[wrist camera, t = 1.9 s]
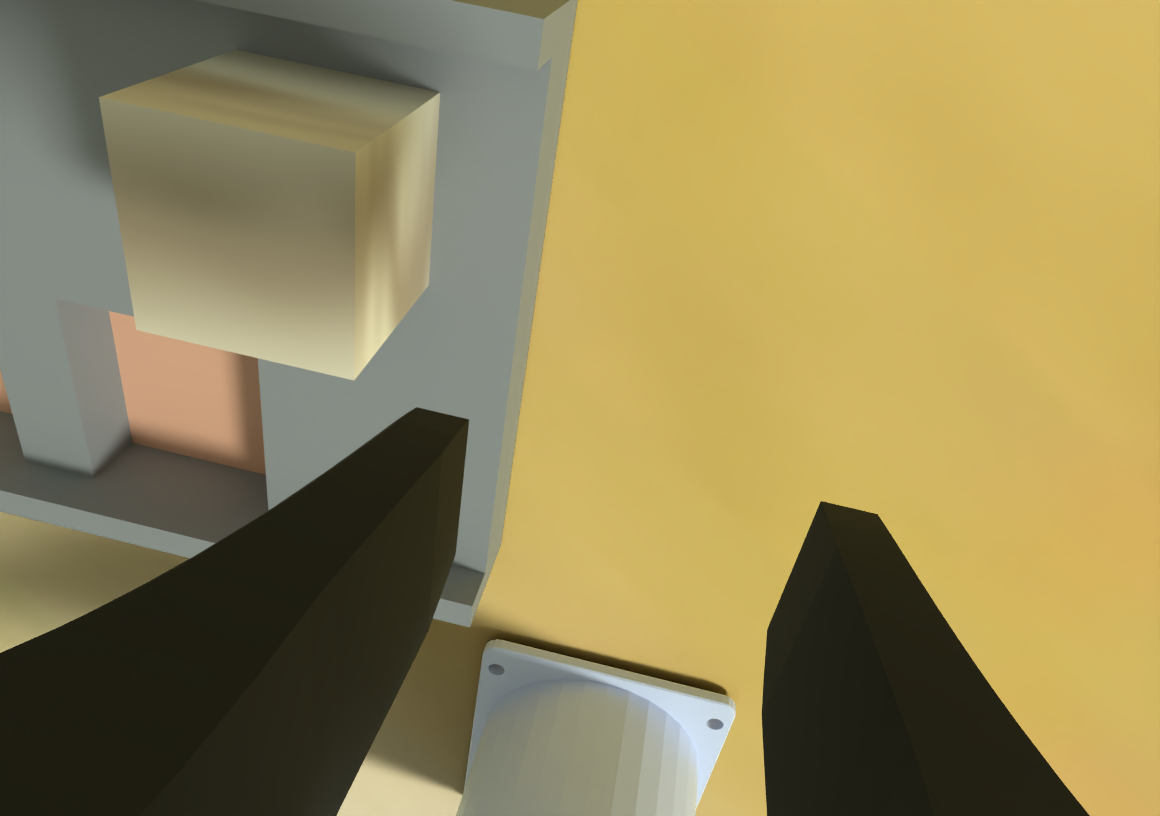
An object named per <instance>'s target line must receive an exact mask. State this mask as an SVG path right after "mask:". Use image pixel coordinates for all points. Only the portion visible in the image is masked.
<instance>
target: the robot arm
mask: <svg viewBox="0 0 1160 816" xmlns="http://www.w3.org/2000/svg"><path fill="white" fill-rule="evenodd" d="M468 428H469V419H465V418H461V417H457V416H452V415H448V414H444V413H439V412H435V411H431V410H427V409H422V408H418V407H416V408H414V409H413V410H411V411H409V412H408V413H406V414H405V415H403V416H402V417H400V418H399V419H398V420H396V421H395V422H393V423H392V424H391V425H389V426H388V427H387V428H385V429H384V430H383V431H381V432H380V433H379V434H377V435H376V436H374V437H373V438H372V439H370V440H369V441H368V442H366V443H365V444H364V445H362V446H361V447H359V448H358V449H357V450H355V451H354V452H353V453H351V454H350V455H348V456H347V457H346V458H344V459H343V460H341V461H340V462H339V463H337V464H336V465H334V466H333V467H332V468H330V469H329V470H327V471H326V472H325V473H323V474H322V475H320V476H319V477H317V478H316V479H314V480H313V481H311V482H310V483H308V484H307V485H305V486H304V487H303V488H301V489H300V490H298V491H297V492H295V493H294V494H292V495H291V496H289V497H288V498H286V499H285V500H283V501H282V502H280V503H279V504H277V505H276V506H275V507H273V508H271V509H270V510H268V511H267V512H265V513H264V514H262V515H261V516H259V517H258V518H256V519H254V520H253V521H251V522H249V523H248V524H246V525H244V526H243V527H241V528H239V529H238V530H236V531H235V532H233V533H231V534H230V535H228V536H226V537H225V538H223V539H221V540H220V541H218V542H217V543H215V544H213V545H212V546H210V547H208V548H207V549H205V550H203V551H202V552H200V553H199V554H197V555H195V556H194V557H192V558H190V559H188V560H187V561H185V562H183V563H181V564H180V565H178V566H176V567H174V568H173V569H171V570H169V571H167V572H165V573H164V574H162V575H160V576H158V577H156V578H155V579H153V580H151V581H149V582H147V583H145V584H144V585H142V586H140V587H138V588H136V589H134V590H132V591H131V592H129V593H127V594H125V595H123V596H121V597H119V598H117V599H115V600H113V601H111V602H109V603H107V604H105V605H103V606H101V607H99V608H97V609H95V610H93V611H91V612H89V613H87V614H86V615H84V616H81V617H79V618H77V619H75V620H73V621H71V622H69V623H67V624H65V625H63V626H61V627H58V628H56V629H54V630H52V631H49V632H47V633H45V634H43V635H40V636H38V637H36V638H33V639H31V640H29V641H27V642H24V643H22V644H20V645H17V646H15V647H13V648H11V649H8V650H6V651H4V652H1V653H0V816H336V815H337V813H338V811H339V809H340V807H341V805H342V803H343V801H344V799H345V797H346V795H347V793H348V791H349V789H350V787H351V785H352V783H353V781H354V779H355V777H356V775H357V773H358V771H359V769H360V767H361V765H362V763H363V761H364V759H365V757H366V755H367V753H368V751H369V749H370V747H371V745H372V743H373V741H374V739H375V737H376V735H377V733H378V731H379V729H380V727H381V725H382V723H383V721H384V719H385V717H386V715H387V713H388V711H389V709H390V707H391V705H392V703H393V701H394V699H395V697H396V695H397V693H398V691H399V689H400V687H401V685H402V683H403V681H404V679H405V677H406V675H407V673H408V671H409V669H410V667H411V665H412V663H413V661H414V659H415V657H416V655H417V653H418V651H419V649H420V647H421V644H422V642H423V640H424V638H425V636H426V634H427V632H428V630H429V627H430V624H431V622H432V619H433V616H434V613H435V611H436V608H437V605H438V603H439V600H440V597H441V594H442V592H443V589H444V586H445V583H446V580H447V577H448V575H449V572H450V569H451V566H452V563H453V560H454V558H455V555H456V547H457V537H458V527H459V517H460V507H461V497H462V487H463V478H464V468H465V458H466V448H467V438H468ZM497 664H498V665H497ZM734 718H735V703H734V701H733V700H732V699H731V698H730V697H728V696H726V695H723V694H719V693H715V692H711V691H707V690H703V689H699V688H695V687H691V686H687V685H683V684H679V683H675V682H671V681H666V680H662V679H658V678H654V677H650V676H646V675H642V674H638V673H634V672H630V671H626V670H622V669H618V668H614V667H610V666H606V665H602V664H598V663H594V662H590V661H586V660H582V659H578V658H574V657H570V656H566V655H562V654H557V653H553V652H549V651H545V650H541V649H537V648H533V647H529V646H525V645H521V644H517V643H513V642H509V641H505V640H499V639H496V640H491V641H489V642H488V643H487V644H486V646H485V649H484V652H483V656H482V663H481V670H480V678H479V685H478V692H477V699H476V707H475V714H474V721H473V728H472V736H471V743H470V750H469V757H468V765H467V772H466V779H465V786H464V792H463V796H462V799H461V802H460V805H459V808H458V812H457V815H456V816H696V808H697V806H698V803H699V801H700V799H701V796H702V794H703V791H704V789H705V787H706V784H707V782H708V780H709V777H710V775H711V773H712V770H713V768H714V765H715V763H716V761H717V758H718V756H719V754H720V751H721V749H722V746H723V744H724V742H725V739H726V737H727V735H728V732H729V730H730V727H731V725H732V723H733V720H734ZM762 728H763V748H764V766H765V785H766V802H767V816H1090V815H1089V814H1088V813H1087V812H1086V811H1085V809H1084V808H1083V807H1082V806H1081V804H1080V803H1079V802H1078V801H1077V800H1076V798H1075V797H1074V796H1073V795H1072V793H1071V792H1070V791H1069V790H1068V788H1067V787H1066V786H1065V785H1064V783H1063V782H1062V781H1061V780H1060V778H1059V777H1058V776H1057V774H1056V773H1055V772H1054V770H1053V769H1052V768H1051V766H1050V765H1049V764H1048V762H1047V761H1046V760H1045V759H1044V757H1043V756H1042V755H1041V753H1040V752H1039V751H1038V749H1037V748H1036V747H1035V745H1034V744H1033V743H1032V742H1031V740H1030V739H1029V738H1028V736H1027V735H1026V734H1025V732H1024V731H1023V730H1022V728H1021V727H1020V726H1019V725H1018V723H1017V722H1016V721H1015V719H1014V718H1013V716H1012V715H1011V714H1010V712H1009V711H1008V709H1007V708H1006V707H1005V705H1004V704H1003V703H1002V701H1001V700H1000V698H999V697H998V696H997V694H996V693H995V691H994V690H993V689H992V687H991V686H990V684H989V683H988V682H987V680H986V679H985V677H984V676H983V674H982V673H981V672H980V670H979V669H978V667H977V666H976V664H975V663H974V661H973V660H972V659H971V657H970V656H969V654H968V653H967V651H966V650H965V648H964V647H963V645H962V644H961V642H960V641H959V639H958V638H957V636H956V635H955V633H954V632H953V630H952V629H951V627H950V626H949V624H948V623H947V621H946V620H945V618H944V617H943V615H942V614H941V612H940V611H939V609H938V608H937V606H936V605H935V603H934V601H933V600H932V598H931V597H930V595H929V594H928V592H927V591H926V589H925V587H924V586H923V584H922V583H921V581H920V580H919V578H918V577H917V575H916V573H915V572H914V570H913V569H912V567H911V566H910V564H909V562H908V561H907V559H906V558H905V556H904V555H903V553H902V551H901V550H900V548H899V547H898V545H897V543H896V542H895V540H894V539H893V537H892V536H891V534H890V533H889V531H888V529H887V528H886V526H885V525H884V523H883V522H882V520H881V519H880V517H879V516H878V514H874V513H870V512H865V511H861V510H857V509H852V508H848V507H844V506H839V505H835V504H831V503H827V502H822V501H821V502H820V505H819V507H818V509H817V512H816V514H815V517H814V519H813V521H812V524H811V526H810V529H809V531H808V533H807V536H806V538H805V541H804V543H803V545H802V548H801V550H800V553H799V555H798V557H797V560H796V562H795V565H794V567H793V569H792V572H791V574H790V577H789V579H788V581H787V584H786V586H785V589H784V591H783V593H782V596H781V598H780V600H779V603H778V605H777V608H776V610H775V612H774V615H773V617H772V620H771V622H770V624H769V627H768V629H767V643H766V656H765V670H764V686H763V704H762Z"/></svg>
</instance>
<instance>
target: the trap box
mask: <svg viewBox="0 0 1160 816" xmlns="http://www.w3.org/2000/svg"><path fill="white" fill-rule="evenodd" d="M576 7H577V0H0V512H4V513H8V514H12V515H17V516H21V517H25V518H29V519H33V520H37V521H41V522H45V523H49V524H53V525H57V526H61V527H65V528H69V529H73V530H77V531H81V532H85V533H89V534H93V535H97V536H101V537H105V538H109V539H114V540H118V541H122V542H126V543H130V544H134V545H138V546H142V547H146V548H150V549H154V550H158V551H162V552H166V553H170V554H174V555H178V556H182V557H186V558H192V557H194V556H195V555H197V554H199V553H200V552H202V551H203V550H205V549H207V548H208V547H210V546H212V545H213V544H215V543H217V542H218V541H220V540H221V539H223V538H225V537H226V536H228V535H230V534H231V533H233V532H235V531H236V530H238V529H239V528H241V527H243V526H244V525H246V524H248V523H249V522H251V521H253V520H254V519H256V518H258V517H259V516H261V515H262V514H264V513H265V512H267V511H268V510H270V509H271V508H273V507H275V506H276V505H277V504H279V503H280V502H282V501H283V500H285V499H286V498H288V497H289V496H291V495H292V494H294V493H295V492H297V491H298V490H300V489H301V488H303V487H304V486H305V485H307V484H308V483H310V482H311V481H313V480H314V479H316V478H317V477H319V476H320V475H322V474H323V473H325V472H326V471H327V470H329V469H330V468H332V467H333V466H334V465H336V464H337V463H339V462H340V461H341V460H343V459H344V458H346V457H347V456H348V455H350V454H351V453H353V452H354V451H355V450H357V449H358V448H359V447H361V446H362V445H364V444H365V443H366V442H368V441H369V440H370V439H372V438H373V437H374V436H376V435H377V434H379V433H380V432H381V431H383V430H384V429H385V428H387V427H388V426H389V425H391V424H392V423H393V422H395V421H396V420H398V419H399V418H400V417H402V416H403V415H405V414H406V413H408V412H409V411H411V410H413V409H414V408H416V407H418V408H422V409H427V410H431V411H435V412H439V413H444V414H448V415H452V416H457V417H461V418H465V419H469V428H468V438H467V448H466V458H465V468H464V478H463V487H462V497H461V507H460V517H459V527H458V537H457V547H456V555H455V558H454V560H453V563H452V566H451V569H450V572H449V575H448V577H447V580H446V583H445V586H444V589H443V592H442V594H441V597H440V600H439V603H438V605H437V608H436V611H435V613H434V616H433V619H437V620H441V621H445V622H449V623H453V624H457V625H461V626H465V627H469V628H470V626H471V623H472V621H473V618H474V615H475V613H476V610H477V607H478V605H479V602H480V599H481V597H482V594H483V591H484V588H485V586H486V583H487V580H488V578H489V575H490V572H491V570H492V567H493V564H494V562H495V559H496V556H497V554H498V551H499V548H500V546H501V540H502V533H503V526H504V519H505V512H506V505H507V498H508V490H509V483H510V476H511V469H512V462H513V455H514V448H515V441H516V434H517V427H518V419H519V412H520V405H521V398H522V391H523V384H524V377H525V370H526V363H527V355H528V348H529V341H530V334H531V327H532V320H533V313H534V306H535V299H536V292H537V284H538V277H539V270H540V263H541V256H542V249H543V242H544V235H545V228H546V220H547V213H548V206H549V199H550V192H551V185H552V178H553V171H554V164H555V156H556V149H557V142H558V135H559V128H560V121H561V114H562V107H563V100H564V93H565V85H566V78H567V71H568V64H569V57H570V50H571V43H572V36H573V29H574V21H575V14H576ZM233 50H241V51H245V52H250V53H255V54H260V55H264V56H269V57H274V58H279V59H283V60H288V61H293V62H298V63H303V64H307V65H312V66H317V67H322V68H326V69H331V70H336V71H341V72H345V73H350V74H355V75H360V76H365V77H369V78H374V79H379V80H384V81H388V82H393V83H398V84H403V85H407V86H412V87H417V88H422V89H427V90H431V91H436V92H440V104H439V121H438V137H437V154H436V171H435V187H434V204H433V220H432V237H431V254H430V270H429V286H428V287H427V288H426V289H425V291H424V292H423V293H422V294H421V296H420V297H419V298H418V300H417V301H416V302H415V303H414V305H413V306H412V307H411V309H410V310H409V311H408V312H407V314H406V315H405V316H404V318H403V319H402V320H401V321H400V323H399V324H398V325H397V326H396V328H395V329H394V330H393V332H392V333H391V334H390V335H389V337H388V338H387V339H386V341H385V342H384V343H383V344H382V346H381V347H380V348H379V350H378V351H377V352H376V353H375V355H374V356H373V357H372V358H371V360H370V361H369V362H368V364H367V365H366V366H365V367H364V369H363V370H362V371H361V373H360V374H359V375H358V376H357V378H356V379H355V380H350V379H346V378H341V377H337V376H333V375H328V374H324V373H320V372H315V371H311V370H307V369H302V368H298V367H294V366H290V365H285V364H281V363H277V362H272V361H268V360H264V359H259V358H255V357H251V356H246V355H242V354H238V353H233V352H229V351H225V350H220V349H216V348H212V347H207V346H203V345H199V344H195V343H190V342H186V341H182V340H177V339H173V338H169V337H164V336H160V335H156V334H151V333H147V332H143V331H138V330H136V324H135V318H134V312H133V306H132V300H131V294H130V287H129V281H128V275H127V269H126V263H125V256H124V250H123V244H122V238H121V232H120V225H119V219H118V213H117V207H116V201H115V194H114V188H113V182H112V176H111V170H110V164H109V157H108V151H107V145H106V139H105V133H104V126H103V120H102V114H101V108H100V102H99V97H101V96H104V95H107V94H110V93H113V92H115V91H118V90H121V89H124V88H127V87H130V86H133V85H136V84H138V83H141V82H144V81H147V80H150V79H153V78H156V77H159V76H161V75H164V74H167V73H170V72H173V71H176V70H179V69H182V68H184V67H187V66H190V65H193V64H196V63H199V62H202V61H205V60H207V59H210V58H213V57H216V56H219V55H222V54H225V53H228V52H230V51H233Z"/></svg>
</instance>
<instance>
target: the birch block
mask: <svg viewBox="0 0 1160 816" xmlns="http://www.w3.org/2000/svg"><path fill="white" fill-rule="evenodd" d="M99 102H100V108H101V114H102V120H103V126H104V133H105V139H106V145H107V151H108V157H109V164H110V170H111V176H112V182H113V188H114V194H115V201H116V207H117V213H118V219H119V225H120V232H121V238H122V244H123V250H124V256H125V263H126V269H127V275H128V281H129V287H130V294H131V300H132V306H133V312H134V318H135V324H136V330H138V331H143V332H147V333H151V334H156V335H160V336H164V337H169V338H173V339H177V340H182V341H186V342H190V343H195V344H199V345H203V346H207V347H212V348H216V349H220V350H225V351H229V352H233V353H238V354H242V355H246V356H251V357H255V358H259V359H264V360H268V361H272V362H277V363H281V364H285V365H290V366H294V367H298V368H302V369H307V370H311V371H315V372H320V373H324V374H328V375H333V376H337V377H341V378H346V379H350V380H355V379H356V378H357V376H358V375H359V374H360V373H361V371H362V370H363V369H364V367H365V366H366V365H367V364H368V362H369V361H370V360H371V358H372V357H373V356H374V355H375V353H376V352H377V351H378V350H379V348H380V347H381V346H382V344H383V343H384V342H385V341H386V339H387V338H388V337H389V335H390V334H391V333H392V332H393V330H394V329H395V328H396V326H397V325H398V324H399V323H400V321H401V320H402V319H403V318H404V316H405V315H406V314H407V312H408V311H409V310H410V309H411V307H412V306H413V305H414V303H415V302H416V301H417V300H418V298H419V297H420V296H421V294H422V293H423V292H424V291H425V289H426V288H427V287H428V286H429V270H430V254H431V237H432V220H433V204H434V187H435V171H436V154H437V137H438V121H439V104H440V92H436V91H431V90H427V89H422V88H417V87H412V86H407V85H403V84H398V83H393V82H388V81H384V80H379V79H374V78H369V77H365V76H360V75H355V74H350V73H345V72H341V71H336V70H331V69H326V68H322V67H317V66H312V65H307V64H303V63H298V62H293V61H288V60H283V59H279V58H274V57H269V56H264V55H260V54H255V53H250V52H245V51H241V50H233V51H230V52H228V53H225V54H222V55H219V56H216V57H213V58H210V59H207V60H205V61H202V62H199V63H196V64H193V65H190V66H187V67H184V68H182V69H179V70H176V71H173V72H170V73H167V74H164V75H161V76H159V77H156V78H153V79H150V80H147V81H144V82H141V83H138V84H136V85H133V86H130V87H127V88H124V89H121V90H118V91H115V92H113V93H110V94H107V95H104V96H101V97H99Z"/></svg>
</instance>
